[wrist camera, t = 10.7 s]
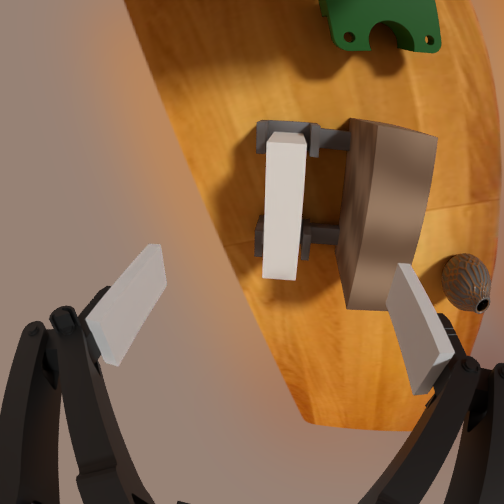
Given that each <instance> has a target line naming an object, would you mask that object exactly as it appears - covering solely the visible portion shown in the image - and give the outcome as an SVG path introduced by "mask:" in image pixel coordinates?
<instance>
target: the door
mask: <svg viewBox="0 0 504 504" xmlns="http://www.w3.org/2000/svg"><path fill="white" fill-rule="evenodd" d="M306 151H307V143H306V141H305V138H304V135H303V133H289V132H274V133H273V134H272V135H271V137H270V138H269V139H268V141H267V145H266V183H265V216H264V232H262V244H264V247H263V274H262V278H270V279H282V280H296V271H297V262H298V252H299V242H300V231H301V220H302V208H303V195H304V182H305V167H306Z"/></svg>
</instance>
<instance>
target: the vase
mask: <svg viewBox="0 0 504 504" xmlns="http://www.w3.org/2000/svg"><path fill="white" fill-rule="evenodd" d="M442 286H443V290H444V293H445V295H446V297H447V298H448V300H449V301H450V302H451V303H452V304H453V305H454V306H455V307H456V308H458V309H460V310H463V311H473V312H475V313H478V314H480V313H483V312H484V311H486V310H487V308H488V307H489V305H490V290H491V280H490V275H489V273H488V270H487V268H486V266H485V265H484V264H483V263H482V262H481V261H480V260H479V259H478V258H477V257H475V256H473V255H471V254H466V253H463V254H458V255H456V256H454V257H452V258H451V259H450V260H449V261H448V262H447V264H446V265H445V267H444V270H443V273H442Z"/></svg>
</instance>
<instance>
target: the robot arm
mask: <svg viewBox="0 0 504 504" xmlns="http://www.w3.org/2000/svg"><path fill="white" fill-rule="evenodd" d="M166 286H167V281H166V276H165V269H164V263H163V257H162V250H161V245H159V244H148V245H147V246H146V247H145V249H144V250H143V251H142V252H141V253H140V254H139V255H138V257H136V259H135V260H134V261H133V262H132V263H131V264H130V265H129V267H128V268H127V269H126V270H125V271H124V272H123V274H122V275H121V276H120V277H119V278H118V280H117V281H116V282H115V283H114V284H113V285H112V286H106V287H105V288H103V289H102V290H100V291H99V292H98V293H97V294H96V295H95V297H94V299H92V300H91V301H90V304H88V305H87V306H86V307H85V309H84V310H83V311H82V312H81V313H80V315H79V316H78V317H77V314H76V312H75V310H74V308H73V307H71V306H62V307H59V308H57V309H56V310H54V311H53V312H52V313H51V315H50V318H49V320H50V322H51V324H52V326H53V328H54V329H51V330H50V329H49V330H48V329H46V328H45V326H44V324H43V323H42V322H40V321H35V322H31V323H29V324H28V325H27V326H26V327H25V328H24V330H23V332H22V335H21V338H20V340H19V343H18V347H17V350H16V353H15V356H14V360H13V363H12V366H11V370H10V374H9V378H8V382H7V386H6V390H5V394H4V399H3V403H2V408H1V414H0V504H60V501H59V478H58V435H59V416H60V404H61V394H62V396H63V402H64V408H65V414H66V419H67V424H68V428H69V433H70V437H71V442H72V445H73V450H74V453H75V457H76V461H77V464H78V467H79V475H78V476H77V477H76V481H77V486H78V489H79V492H80V495H81V498H82V501H83V503H84V504H155V503H154V501H153V500H152V498H151V496H150V494H149V493H148V492H147V490H146V489H145V487H144V486H143V484H142V482H141V480H140V478H139V476H138V474H137V471H136V469H135V467H134V464H133V462H132V460H131V458H130V455H129V453H128V450H127V448H126V445H125V442H124V440H123V437H122V435H121V432H120V429H119V426H118V424H117V421H116V418H115V415H114V412H113V409H112V406H111V403H110V399H109V396H108V393H107V390H106V386H105V383H104V379H103V375H102V372H101V368H100V364H99V362H98V358H99V357H100V355H102V357H103V359H104V361H105V363H108V364H112V365H115V366H119V365H120V363H121V361H122V359H123V358H124V356H125V354H126V352H127V351H128V349H129V347H130V345H131V344H132V342H133V340H134V338H135V337H136V335H137V333H138V332H139V330H140V328H141V327H142V325H143V323H144V322H145V320H146V318H147V317H148V315H149V313H150V312H151V310H152V309H153V307H154V305H155V304H156V302H157V300H158V299H159V297H160V296H161V294H162V292H163V290H164V289H165V288H166ZM386 306H387V309H388V311H389V314H390V317H391V320H392V323H393V326H394V330H395V333H396V336H397V339H398V342H399V346H400V349H401V352H402V356H403V359H404V363H405V366H406V370H407V373H408V377H409V381H410V385H411V389H412V393H413V395H421V394H428V392H429V391H430V390H431V388H432V387H434V390H435V394H434V395H433V396H432V398H431V399H430V400H429V401H428V403H427V404H426V405H425V406H426V409H425V411H424V412H423V414H422V416H421V417H420V419H419V421H418V422H417V424H416V426H415V427H414V429H413V431H412V432H411V434H410V436H409V437H408V438H407V440H406V442H405V443H404V445H403V446H402V448H401V449H400V450H399V452H398V453H397V455H396V456H395V457H394V459H393V460H392V462H391V463H390V464H389V466H388V467H387V468H386V470H385V471H384V472H383V474H382V475H381V476H380V478H379V479H378V480H377V481H376V483H375V484H374V485H373V486H372V488H371V489H370V490H369V491H368V492H367V494H366V495H365V496H364V497H363V498H362V499H361V500H360V501H359V503H358V504H419V503H420V501H421V500H422V498H423V497H424V495H425V494H426V492H427V491H428V489H429V487H430V486H431V484H432V482H433V481H434V479H435V477H436V476H437V474H438V472H439V470H440V468H441V467H442V465H443V463H444V461H445V459H446V457H447V455H448V453H449V451H450V449H451V447H452V445H453V443H454V441H455V439H456V437H457V434H458V432H459V430H460V428H461V425H462V423H463V421H464V424H463V429H462V435H461V440H460V446H459V450H458V454H457V459H456V463H455V467H454V471H453V475H452V478H451V482H450V486H449V489H448V492H447V495H446V498H445V501H444V504H504V363H498V364H497V365H496V366H495V367H494V369H493V370H489V369H484V368H481V367H480V364H479V363H478V362H477V360H475V359H474V358H473V357H470V356H466V353H465V351H464V349H463V347H462V345H461V343H460V340H459V338H458V336H457V335H456V332H455V330H454V329H453V326H452V324H451V322H450V320H449V319H448V318H447V317H446V316H445V315H444V314H443V313H436V311H435V309H434V307H433V305H432V303H431V301H430V299H429V297H428V295H427V294H426V292H425V290H424V288H423V286H422V284H421V282H420V281H419V279H418V277H417V275H416V274H415V272H414V270H413V268H412V267H411V265H410V264H405V263H398V264H397V268H396V271H395V275H394V278H393V281H392V285H391V288H390V291H389V294H388V297H387V300H386ZM177 504H188V503H185V502H181V501H178V502H177Z"/></svg>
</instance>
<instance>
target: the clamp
mask: <svg viewBox="0 0 504 504" xmlns="http://www.w3.org/2000/svg"><path fill="white" fill-rule="evenodd" d="M318 1H319V5H320V9H321V13H322V17H327V19H328V23H329V28H330V33H331V38H332V41H333V43H334V44H335V45H336V46H337V47H338V48H340V49H343V50H347V51H372V50H371V48H370V45H369V33H370V30H371V29H372V27H373V26H374V25H375V24H377V23H378V22H380V23H383V24H385V25H387V26H388V27H389V28H390V29H391V30H392V31H393V32H394V34H395V36H396V38H397V48H399V49H404V50H408V51H413V52H424V53H436V52H438V51H439V49H440V48H441V35H440V27H439V20H438V14H437V8H436V3H435V0H318ZM346 32H348V33H350V34H351V36H352V40H351V41H350V42H346V41H345V40H344V34H345V33H346ZM426 36H427V38H428V43H426V42H425V37H426Z"/></svg>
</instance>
